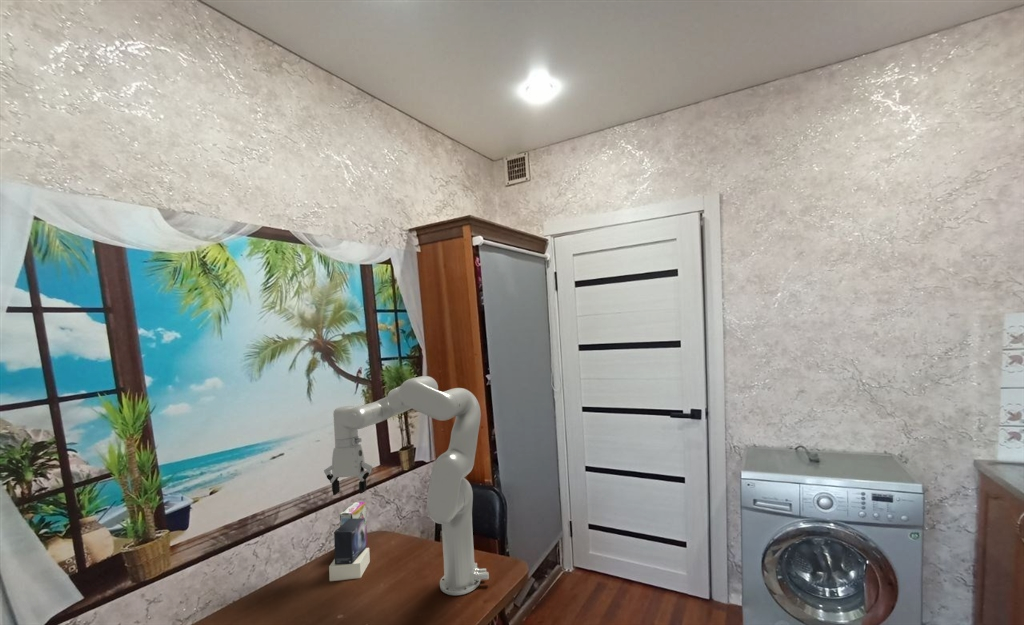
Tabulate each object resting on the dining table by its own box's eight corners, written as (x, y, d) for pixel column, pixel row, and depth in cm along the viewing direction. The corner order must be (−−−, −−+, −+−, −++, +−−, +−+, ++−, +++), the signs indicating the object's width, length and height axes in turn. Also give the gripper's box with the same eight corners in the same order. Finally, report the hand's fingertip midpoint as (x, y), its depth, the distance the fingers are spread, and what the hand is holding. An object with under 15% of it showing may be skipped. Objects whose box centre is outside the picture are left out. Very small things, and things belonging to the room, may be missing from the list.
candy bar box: (353, 561, 141) (351, 513, 142) (340, 561, 142) (338, 514, 143) (368, 545, 152) (366, 501, 154) (355, 545, 153) (354, 501, 154)
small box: (353, 564, 130) (351, 531, 131) (334, 565, 130) (332, 532, 131) (367, 547, 141) (365, 517, 141) (349, 548, 141) (348, 518, 142)
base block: (369, 562, 140) (369, 547, 141) (360, 578, 130) (360, 563, 131) (341, 565, 140) (340, 550, 140) (329, 582, 130) (329, 566, 130)
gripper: (375, 438, 141) (378, 487, 140) (329, 441, 143) (332, 490, 142) (364, 443, 134) (368, 495, 132) (317, 447, 136) (319, 498, 134)
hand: (349, 492), depth 137 cm, fingers open, 9 cm apart
